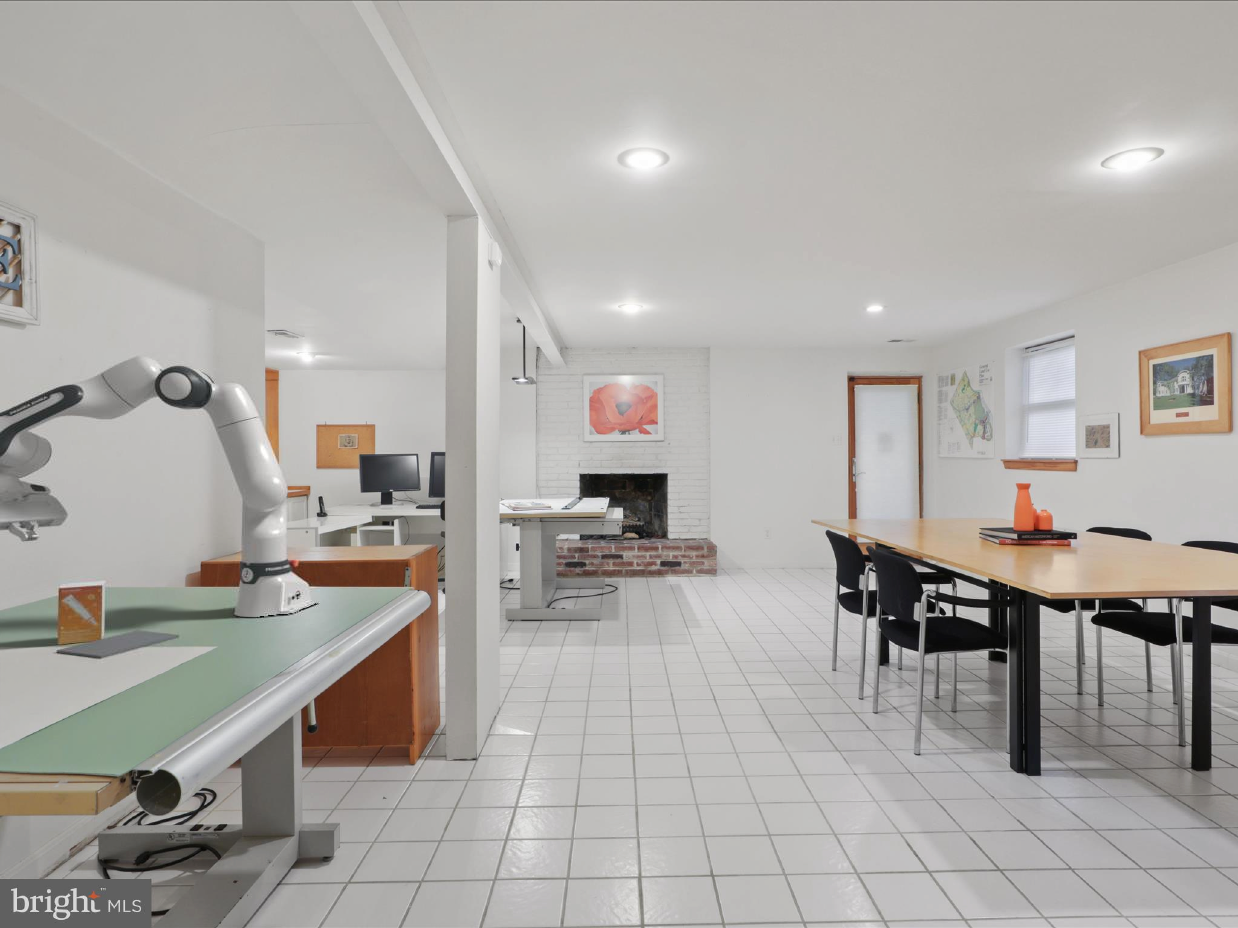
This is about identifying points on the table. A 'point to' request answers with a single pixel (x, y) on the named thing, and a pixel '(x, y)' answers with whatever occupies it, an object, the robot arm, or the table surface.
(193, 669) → the table surface
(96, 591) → the small box
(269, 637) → the table surface
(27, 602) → the table surface
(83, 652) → the mat
